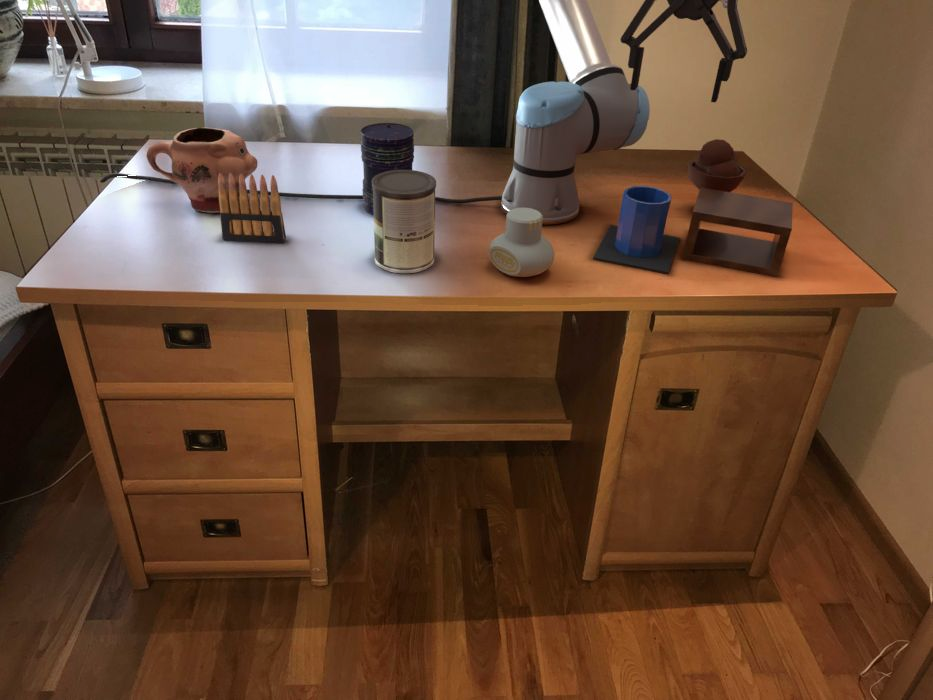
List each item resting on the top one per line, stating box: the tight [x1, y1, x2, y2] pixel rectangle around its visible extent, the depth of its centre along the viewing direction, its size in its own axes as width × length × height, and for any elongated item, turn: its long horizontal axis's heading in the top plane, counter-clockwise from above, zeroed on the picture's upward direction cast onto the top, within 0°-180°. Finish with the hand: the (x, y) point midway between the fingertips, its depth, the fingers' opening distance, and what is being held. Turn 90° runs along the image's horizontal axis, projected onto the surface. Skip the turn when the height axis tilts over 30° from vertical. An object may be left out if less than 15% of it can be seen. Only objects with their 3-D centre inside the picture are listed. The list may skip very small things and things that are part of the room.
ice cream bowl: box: [687, 138, 748, 193], centre depth 147 cm, size 11×11×15 cm
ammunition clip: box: [218, 173, 287, 244], centre depth 130 cm, size 11×2×12 cm, turn 89°
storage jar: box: [360, 122, 415, 216], centre depth 143 cm, size 10×10×15 cm
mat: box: [592, 224, 681, 275], centre depth 136 cm, size 13×15×1 cm
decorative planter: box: [146, 127, 259, 213], centre depth 141 cm, size 20×12×14 cm, turn 95°
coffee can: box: [372, 169, 437, 274], centre depth 125 cm, size 10×10×14 cm
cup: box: [615, 185, 673, 258], centre depth 133 cm, size 8×8×10 cm
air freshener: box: [488, 208, 555, 278], centre depth 125 cm, size 11×8×10 cm
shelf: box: [681, 188, 794, 278], centre depth 134 cm, size 16×12×9 cm
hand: (673, 94), depth 128 cm, fingers open, 13 cm apart
